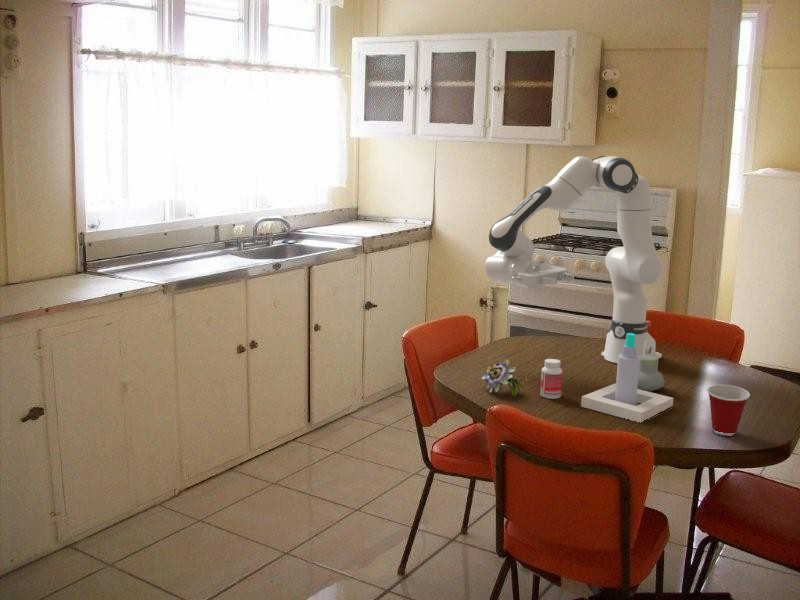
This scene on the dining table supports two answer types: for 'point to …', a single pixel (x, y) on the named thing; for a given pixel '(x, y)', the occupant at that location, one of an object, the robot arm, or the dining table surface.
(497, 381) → the passion flower
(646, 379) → the air freshener
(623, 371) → the spray bottle
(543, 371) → the pill bottle
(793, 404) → the dining table surface
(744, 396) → the plastic cup
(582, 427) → the dining table surface
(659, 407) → the hole block
